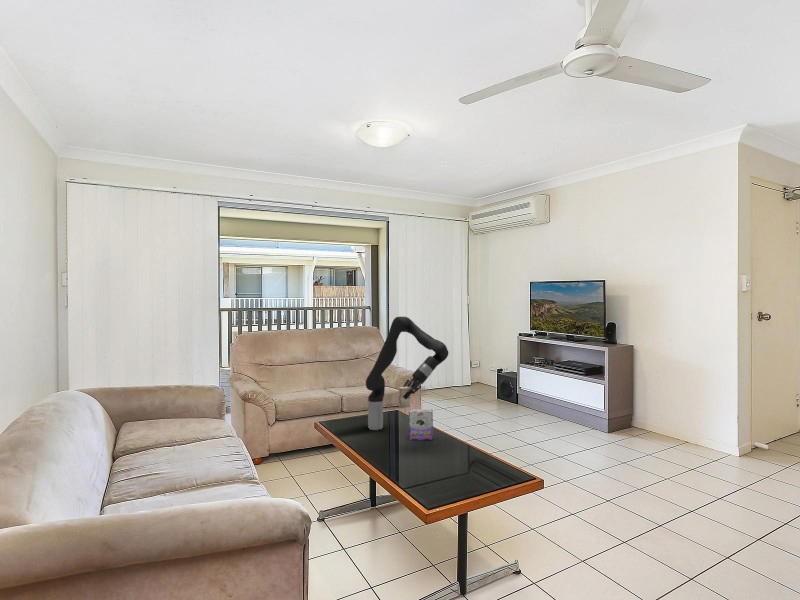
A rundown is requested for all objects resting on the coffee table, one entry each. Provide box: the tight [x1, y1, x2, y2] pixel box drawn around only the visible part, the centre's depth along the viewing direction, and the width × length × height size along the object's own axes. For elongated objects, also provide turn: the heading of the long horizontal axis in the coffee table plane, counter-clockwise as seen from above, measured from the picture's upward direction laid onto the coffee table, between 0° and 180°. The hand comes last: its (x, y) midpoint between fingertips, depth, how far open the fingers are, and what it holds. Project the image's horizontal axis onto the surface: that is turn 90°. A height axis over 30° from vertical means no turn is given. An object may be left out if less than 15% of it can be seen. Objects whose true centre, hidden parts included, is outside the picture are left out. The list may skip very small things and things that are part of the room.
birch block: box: [398, 386, 411, 409], centre depth 240 cm, size 5×5×10 cm
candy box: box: [408, 408, 434, 441], centre depth 258 cm, size 14×6×16 cm, turn 84°
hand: (402, 397), depth 239 cm, fingers closed on birch block, 4 cm apart
